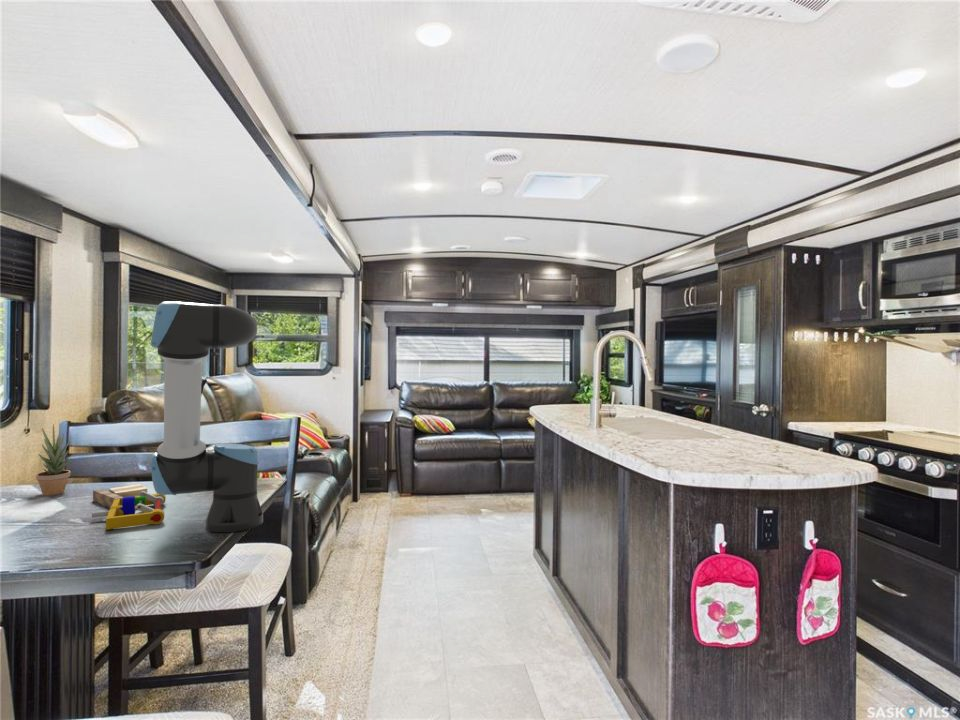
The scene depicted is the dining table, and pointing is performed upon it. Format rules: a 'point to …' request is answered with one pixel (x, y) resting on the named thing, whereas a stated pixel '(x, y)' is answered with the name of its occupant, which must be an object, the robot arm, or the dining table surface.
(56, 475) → the potted plant
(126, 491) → the block
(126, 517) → the mechanical clamp
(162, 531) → the dining table surface
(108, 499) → the board
